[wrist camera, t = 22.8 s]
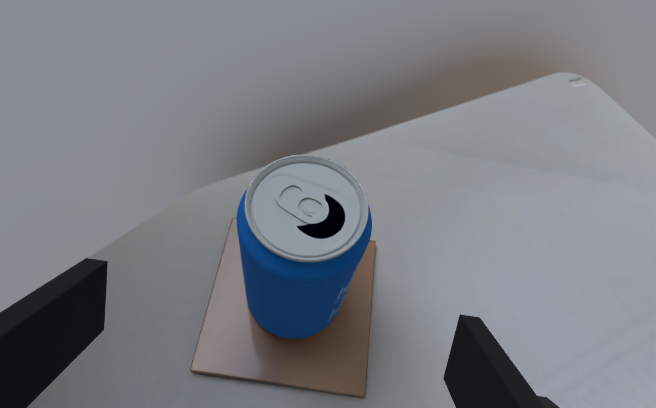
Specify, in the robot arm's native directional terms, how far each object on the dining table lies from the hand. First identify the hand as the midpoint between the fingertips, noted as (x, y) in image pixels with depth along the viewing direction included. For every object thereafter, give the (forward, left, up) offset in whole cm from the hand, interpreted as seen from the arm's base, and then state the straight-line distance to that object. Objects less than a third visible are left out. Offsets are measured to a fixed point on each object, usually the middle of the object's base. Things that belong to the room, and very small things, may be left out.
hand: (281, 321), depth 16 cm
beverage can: (0, +6, -13) cm, 14 cm away
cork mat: (0, +5, -13) cm, 14 cm away
